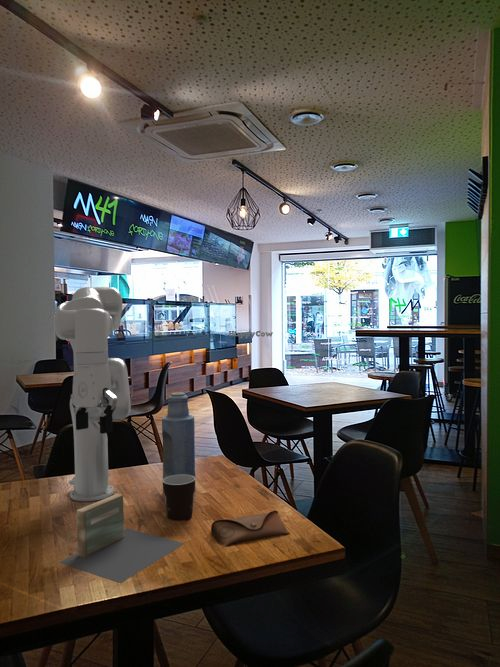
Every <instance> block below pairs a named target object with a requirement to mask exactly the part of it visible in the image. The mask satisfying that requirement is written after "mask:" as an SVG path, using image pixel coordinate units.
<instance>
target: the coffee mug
mask: <svg viewBox="0 0 500 667" xmlns="http://www.w3.org/2000/svg"><path fill="white" fill-rule="evenodd" d="M161 482H162V491H163V490H164V493H163V496H164V502H165V509H166V517H167V519H168V520H171V521H175V522H176V521H179V522H180V521H190V520H191V519H192V518H193V512H194V511H193V510H194V497H195V492H194V489H195V490H196V476H195V477H194V476H191V475H184V474H180V475H172V476H168V477H165V478H164V479H163V478H162V481H161Z"/></svg>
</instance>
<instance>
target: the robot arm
mask: <svg viewBox="0 0 500 667" xmlns="http://www.w3.org/2000/svg"><path fill="white" fill-rule="evenodd" d="M122 313H123V297H122V294H121V293H120V290H118V289H117V288H115V287H111V286H85V287H81V288H79V289H77V290H76V291H75V292H74V293H73V295H72V298H71V300H69V301H65V302H63V303H62V302H61V303H60V304H59V305H58V306H57V307H56V309H55V312H54V318H53V329H54V333H55V335H56V336H57V338H58V339H60V340H63V341H64V340H65V341H69V342H68V343H70V345H71V348H72V352H73V377H72V393H71V394H70V400H69V410H70V414H71V421H72V427H73V428H72V429H73V446H74V447H73V448H74V450H73V451H74V476H73V477H72V479H70V480H69V481H68V485H69V486H70V485H71V486H73V489H72V490H71V491H70V493H69V497H70V499H71V500H73V501H77V502H94V501H95V502H96V501H101V500H103V499H106V498H108V497H110V496H113V495H114V493H115V487H114V486H113V485H110V483H109V454H108V453H109V451H108V450H109V449H108V448H109V447H108V446H109V445H108V433H112V432H113V430H114V427H113V420H122V419H126V418H127V417H129V415H130V413H131V407H132V404H131V402H132V400H131V393H130V384H129V375H128V374H129V373H128V367H127V364H126V363H125V361H124V360H123V359H122V358H119V357H109V347H108V345H109V344H108V343H109V342H108V340H109V339H108V337H110V335H111V333H112V332H115V331H117V330H118V329H119V328H120V326H121V321H122ZM98 422H99V423H98Z"/></svg>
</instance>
